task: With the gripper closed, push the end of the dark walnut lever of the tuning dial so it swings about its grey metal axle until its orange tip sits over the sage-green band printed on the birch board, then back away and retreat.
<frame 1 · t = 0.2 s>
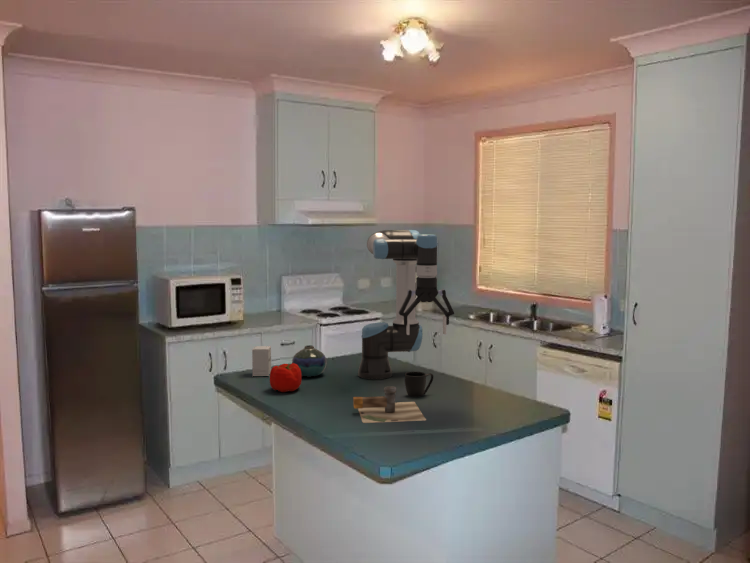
hand: (426, 334, 236), 28 cm above the countertop, fingers open, 13 cm apart
peg lever: (375, 400, 228), point 6 cm above the countertop, hinge at 0.0°
supplement box: (262, 375, 287), on the countertop
vase: (309, 375, 286), on the countertop
dial board: (390, 415, 230), on the countertop
tomato: (286, 390, 262), on the countertop
mug: (419, 397, 252), on the countertop
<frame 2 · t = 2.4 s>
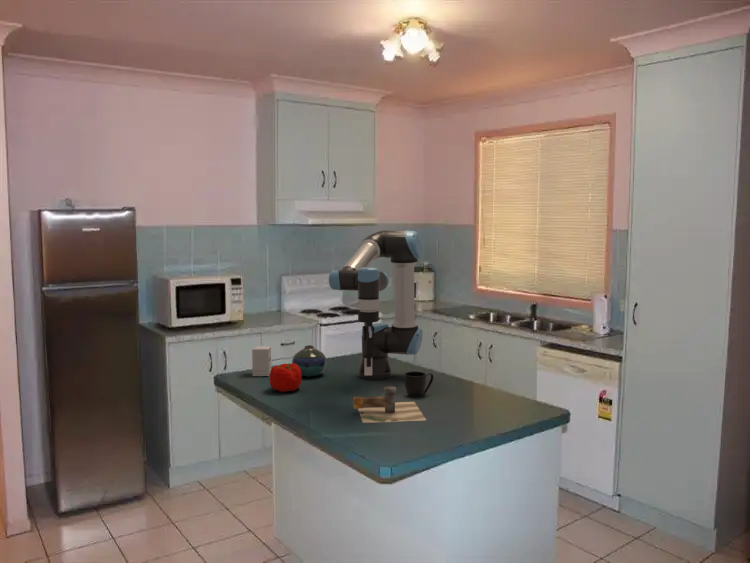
hand: (368, 374, 233), 14 cm above the countertop, fingers closed
nothing on the countertop moved.
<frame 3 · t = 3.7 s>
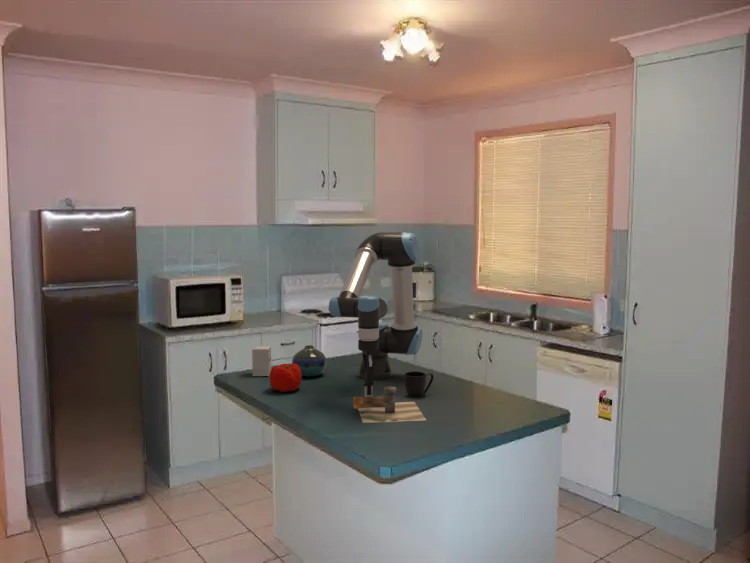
hand: (368, 402, 234), 3 cm above the countertop, fingers closed
nothing on the countertop moved.
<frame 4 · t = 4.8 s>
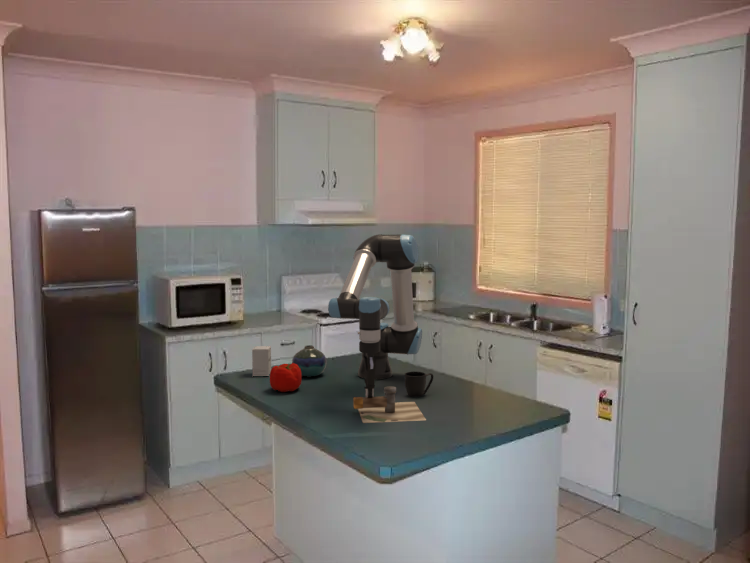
hand: (369, 405, 230), 3 cm above the countertop, fingers closed
peg lever: (375, 400, 228), point 6 cm above the countertop, hinge at 1.6°, touching gripper
everything else where it was.
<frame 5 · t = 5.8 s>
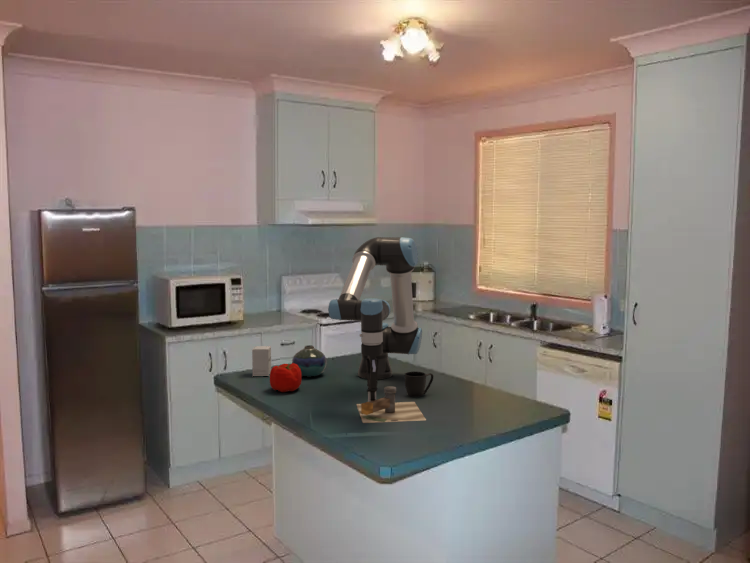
hand: (372, 408, 227), 3 cm above the countertop, fingers closed
peg lever: (379, 402, 225), point 6 cm above the countertop, hinge at 37.9°, touching gripper
everything else where it was.
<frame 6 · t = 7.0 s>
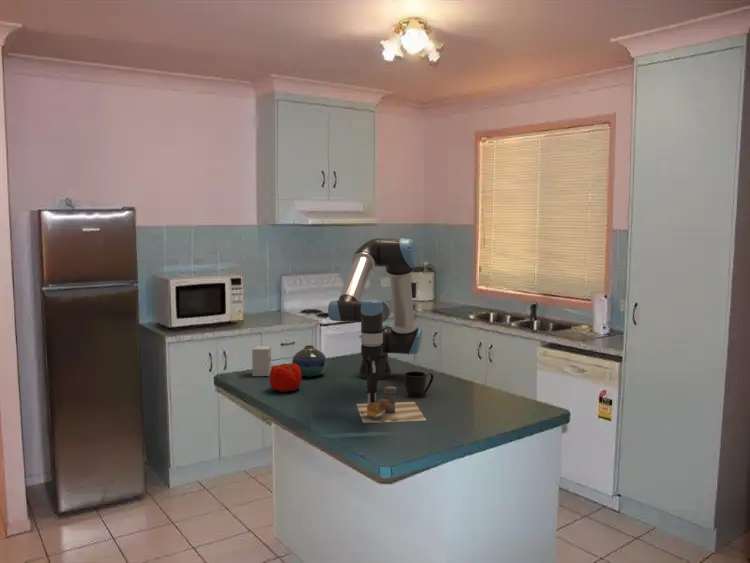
hand: (371, 410, 225), 3 cm above the countertop, fingers closed
peg lever: (382, 403, 224), point 6 cm above the countertop, hinge at 50.2°
everything else where it was.
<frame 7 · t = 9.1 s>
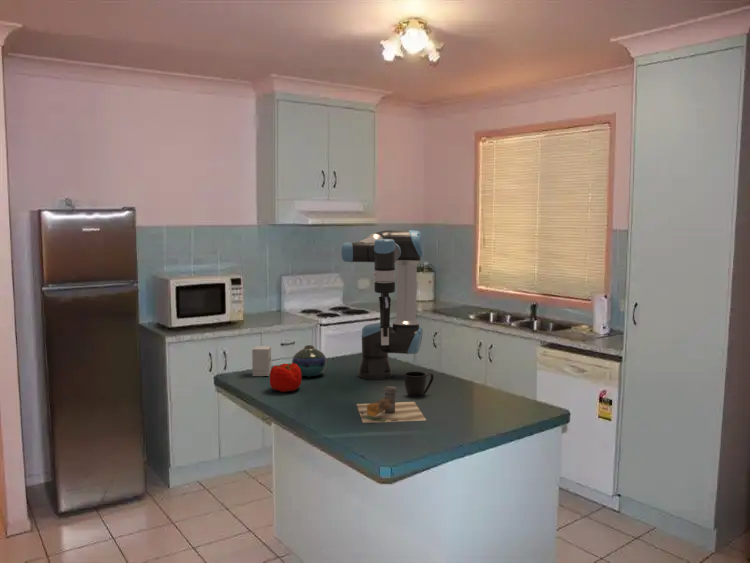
hand: (384, 344, 237), 24 cm above the countertop, fingers closed
nothing on the countertop moved.
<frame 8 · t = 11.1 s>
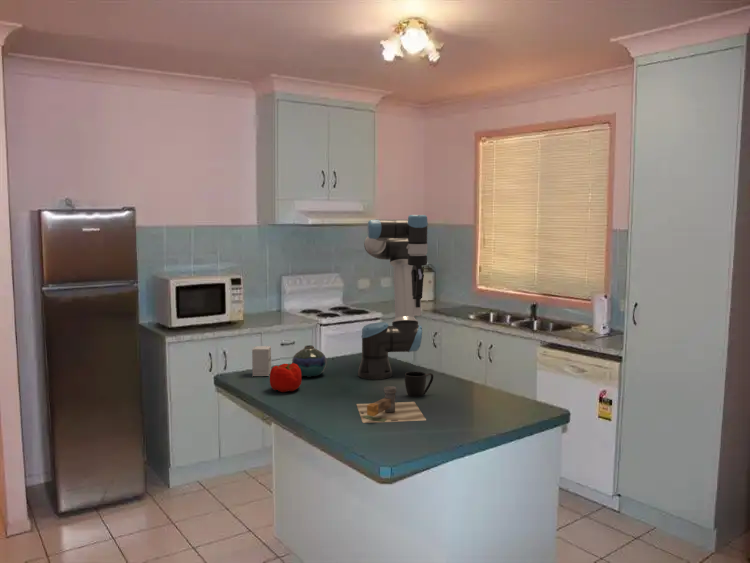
hand: (417, 315, 250), 32 cm above the countertop, fingers closed
nothing on the countertop moved.
at the end: peg lever at +50° (first picture: +0°); peg lever touching nothing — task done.
